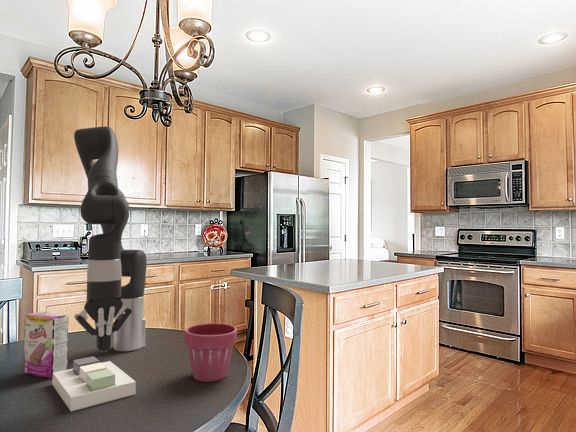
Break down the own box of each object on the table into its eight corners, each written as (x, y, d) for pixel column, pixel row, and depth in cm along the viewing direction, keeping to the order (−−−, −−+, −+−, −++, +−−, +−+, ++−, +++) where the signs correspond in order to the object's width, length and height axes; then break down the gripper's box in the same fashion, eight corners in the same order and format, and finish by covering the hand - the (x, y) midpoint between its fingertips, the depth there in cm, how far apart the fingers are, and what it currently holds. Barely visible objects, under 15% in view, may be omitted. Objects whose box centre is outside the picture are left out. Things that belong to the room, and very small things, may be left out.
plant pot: (247, 375, 107) (247, 328, 107) (204, 390, 96) (204, 338, 97) (215, 363, 116) (216, 320, 117) (173, 375, 106) (174, 328, 107)
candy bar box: (21, 374, 107) (23, 314, 108) (38, 368, 112) (40, 311, 112) (52, 379, 103) (53, 317, 104) (68, 373, 108) (69, 313, 109)
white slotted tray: (109, 371, 109) (109, 361, 109) (135, 394, 94) (135, 381, 94) (52, 384, 100) (52, 372, 100) (70, 411, 85) (71, 397, 85)
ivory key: (100, 374, 101) (100, 362, 101) (106, 379, 97) (106, 367, 97) (79, 378, 97) (79, 366, 97) (84, 384, 94) (84, 372, 94)
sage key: (108, 381, 96) (108, 368, 96) (115, 387, 92) (115, 374, 92) (86, 386, 92) (86, 373, 93) (92, 393, 89) (92, 379, 89)
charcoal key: (93, 367, 105) (93, 356, 106) (99, 372, 102) (99, 360, 102) (73, 371, 102) (73, 360, 102) (77, 377, 98) (78, 365, 99)
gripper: (127, 274, 101) (126, 342, 100) (69, 279, 92) (68, 353, 91) (137, 277, 95) (137, 348, 94) (78, 282, 86) (76, 361, 86)
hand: (103, 350), depth 93 cm, fingers closed
